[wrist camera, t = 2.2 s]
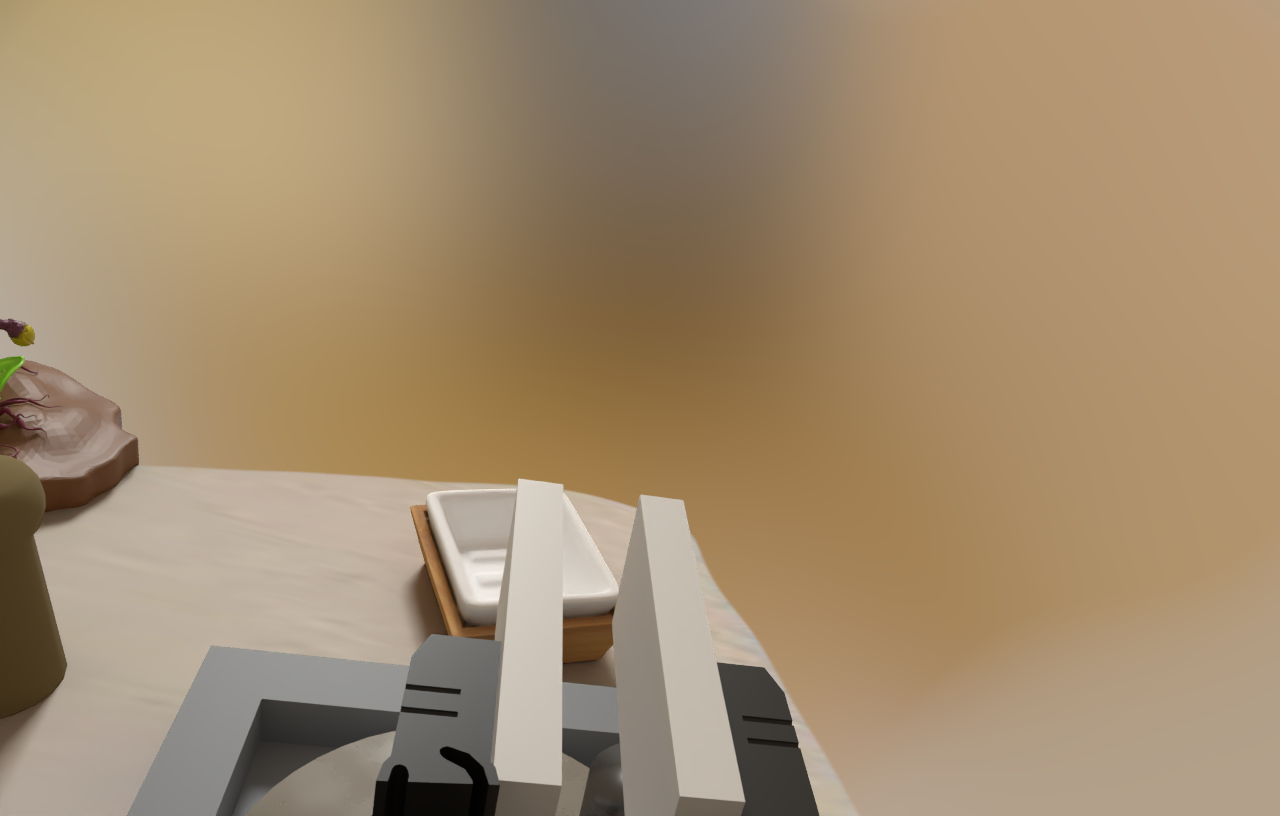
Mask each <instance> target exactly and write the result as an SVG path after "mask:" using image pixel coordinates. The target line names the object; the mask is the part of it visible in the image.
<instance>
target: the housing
mask: <svg viewBox="0 0 1280 816" xmlns="http://www.w3.org/2000/svg"><path fill="white" fill-rule="evenodd" d="M409 667H410V666H403V665H394V664H384V663H374V662H365V661H355V660H345V659H336V658H326V657H316V656H307V655H297V654H287V653H278V652H268V651H258V650H249V649H239V648H230V647H220V646H211V647H210V649H209V651H208V653H207V655H206V657H205V659H204V661H203V663H202V665H201V667H200V669H199V671H198V673H197V675H196V677H195V679H194V681H193V683H192V685H191V687H190V689H189V691H188V693H187V695H186V697H185V699H184V701H183V703H182V705H181V708H180V710H179V712H178V714H177V716H176V718H175V720H174V722H173V724H172V726H171V728H170V730H169V732H168V734H167V736H166V738H165V740H164V742H163V744H162V746H161V748H160V750H159V752H158V754H157V756H156V758H155V760H154V762H153V764H152V766H151V768H150V770H149V772H148V774H147V776H146V778H145V780H144V782H143V784H142V786H141V788H140V790H139V792H138V794H137V796H136V799H135V801H134V803H133V805H132V807H131V809H130V811H129V813H128V815H127V816H245V815H246V814H247V812H248V811H249V810H250V809H251V808H252V807H253V806H254V805H255V804H256V803H257V802H258V801H259V800H260V799H261V798H262V797H263V796H264V795H265V794H266V793H268V792H269V791H270V790H271V789H272V788H273V787H274V786H276V785H277V784H278V783H280V782H281V781H282V780H284V779H285V778H286V777H288V776H289V775H290V774H292V773H293V772H294V771H296V770H298V769H299V768H301V767H303V766H304V765H306V764H308V763H309V762H311V761H313V760H315V759H316V758H318V757H320V756H322V755H324V754H327V753H329V752H331V751H333V750H335V749H337V748H340V747H342V746H344V745H347V744H350V743H353V742H356V741H359V740H362V739H365V738H367V737H371V736H375V735H380V734H384V733H388V732H392V731H396V728H397V724H398V719H399V714H400V711H401V705H402V700H403V695H404V690H405V687H406V681H407V676H408V672H409ZM619 743H620V737H619V721H618V706H617V691H616V687H606V686H596V685H587V684H577V683H567V682H562V753H564V754H566V755H568V756H570V757H571V758H573V759H575V760H576V761H578V762H580V763H582V764H583V765H585V766H587V767H588V768H590V767H591V764H592V762H593V761H594V759H595V758H596V757H597V756H598V754H599V753H601V752H602V751H603V750H605V749H606V748H608V747H610V746H613V745H615V744H619Z"/></svg>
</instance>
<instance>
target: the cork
mask: <svg viewBox="0 0 1280 816" xmlns="http://www.w3.org/2000/svg"><path fill="white" fill-rule="evenodd" d="M45 507H46V500H45V493H44V490H43V487H42V484H41V481H40V479H39V477H38V475H37V474H36V473H35V472H34V471H33V470H32V469H31V468H30V467H29V466H28V465H26V464H25V463H24V462H23V461H21V460H18V459H16V458H13V457H10V456H6V455H0V718H2V717H6V716H10V715H14V714H16V713H18V712H20V711H22V710H25V709H27V708H29V707H31V706H34V705H36V704H37V703H38V702H40V701H41V700H42V699H44V698H45V697H47V696H48V695H49V694H51V693H52V692H53V691H54V690H55V689H56V687H57V686H58V685H59V683H60V682H61V681H62V680H63V678H64V675H65V671H66V667H67V662H66V658H65V654H64V651H63V647H62V643H61V639H60V635H59V631H58V628H57V624H56V620H55V616H54V612H53V608H52V604H51V601H50V597H49V593H48V589H47V585H46V581H45V577H44V574H43V570H42V566H41V562H40V558H39V554H38V551H37V547H36V543H35V539H34V535H33V534H34V533H35V532H36V531H37V530H38V529H39V527H40V524H41V521H42V518H43V515H44V511H45Z"/></svg>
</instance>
